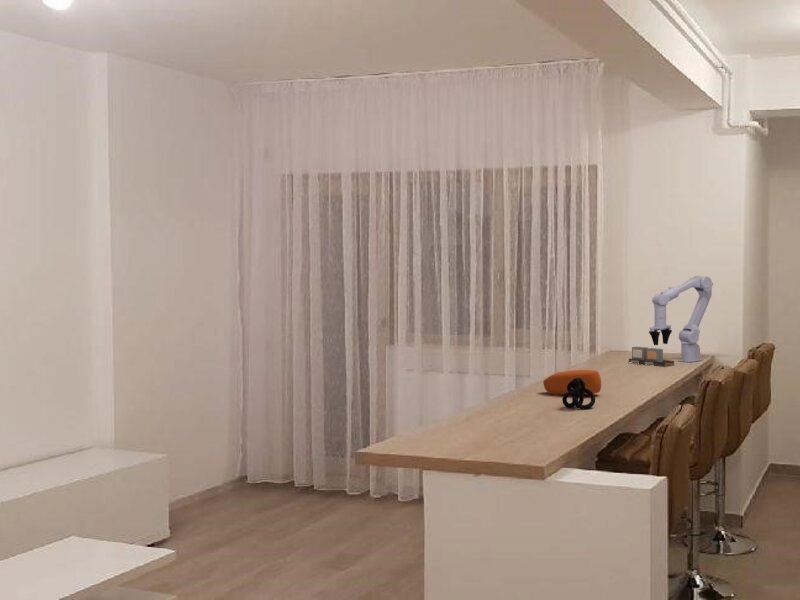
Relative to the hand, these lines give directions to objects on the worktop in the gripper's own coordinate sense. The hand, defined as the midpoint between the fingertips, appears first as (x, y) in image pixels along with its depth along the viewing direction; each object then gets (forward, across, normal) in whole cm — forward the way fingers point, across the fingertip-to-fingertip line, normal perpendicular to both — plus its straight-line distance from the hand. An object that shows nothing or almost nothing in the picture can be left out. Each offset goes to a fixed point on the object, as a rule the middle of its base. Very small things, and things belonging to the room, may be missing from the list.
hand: (660, 344), depth 548 cm
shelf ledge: (+9, +7, 0) cm, 12 cm away
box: (+8, +7, -7) cm, 13 cm away
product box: (+8, +7, +2) cm, 11 cm away
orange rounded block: (+9, +105, +35) cm, 111 cm away
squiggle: (+9, +127, +59) cm, 141 cm away
